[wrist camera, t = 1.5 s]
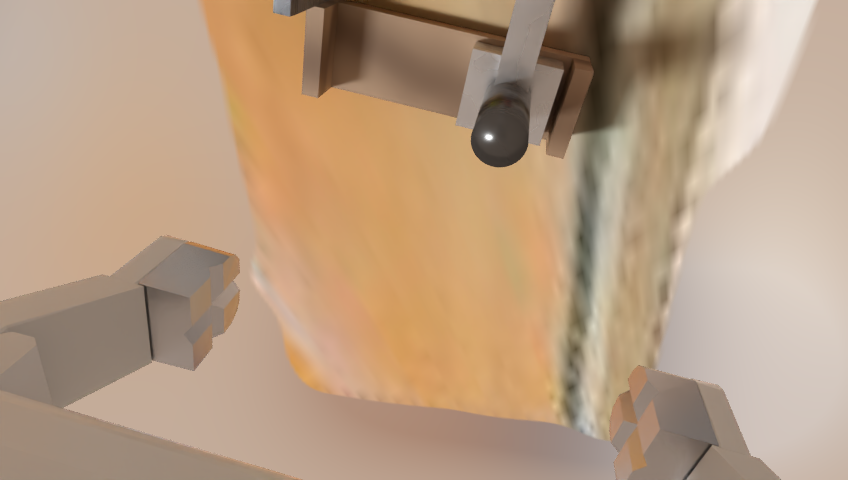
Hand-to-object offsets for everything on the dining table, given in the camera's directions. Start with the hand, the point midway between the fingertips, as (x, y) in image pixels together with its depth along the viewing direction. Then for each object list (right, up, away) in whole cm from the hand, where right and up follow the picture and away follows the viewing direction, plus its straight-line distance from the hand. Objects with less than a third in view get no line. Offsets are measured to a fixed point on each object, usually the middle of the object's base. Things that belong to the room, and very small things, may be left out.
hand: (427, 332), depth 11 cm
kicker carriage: (+6, +14, +18) cm, 24 cm away
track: (+1, +12, +22) cm, 25 cm away
